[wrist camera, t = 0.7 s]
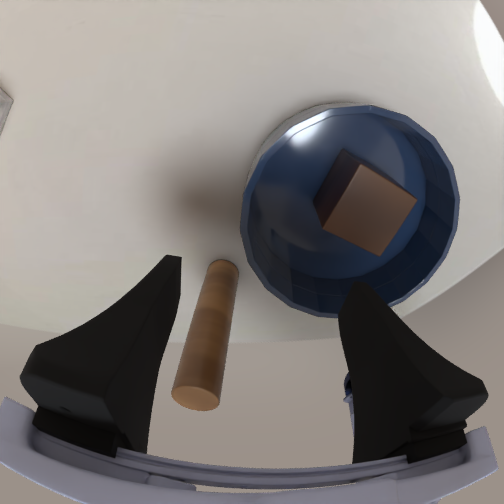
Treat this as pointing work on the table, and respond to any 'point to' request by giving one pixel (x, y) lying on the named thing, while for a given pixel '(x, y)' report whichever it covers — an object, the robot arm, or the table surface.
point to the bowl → (307, 222)
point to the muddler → (207, 340)
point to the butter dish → (4, 107)
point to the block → (362, 203)
